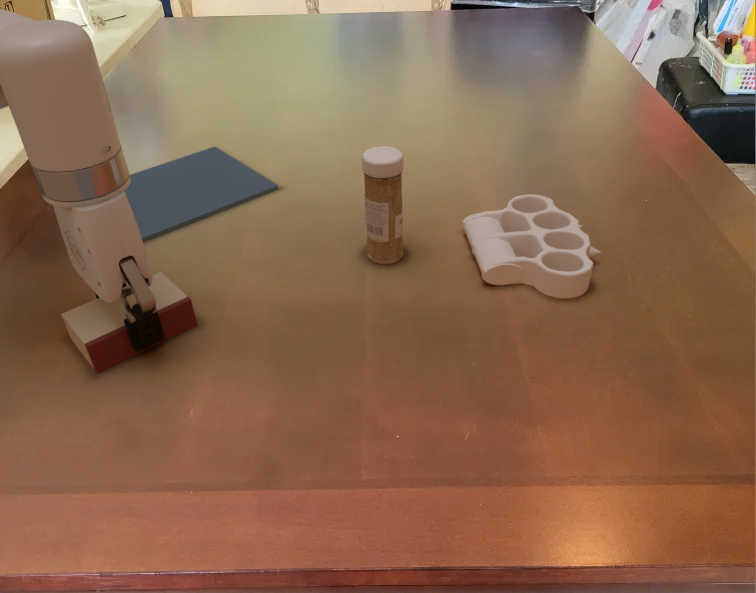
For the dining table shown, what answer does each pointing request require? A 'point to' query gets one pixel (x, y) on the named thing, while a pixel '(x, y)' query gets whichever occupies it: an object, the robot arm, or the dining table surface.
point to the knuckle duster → (532, 247)
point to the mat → (191, 191)
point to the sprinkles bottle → (383, 203)
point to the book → (107, 328)
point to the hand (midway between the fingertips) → (132, 325)
